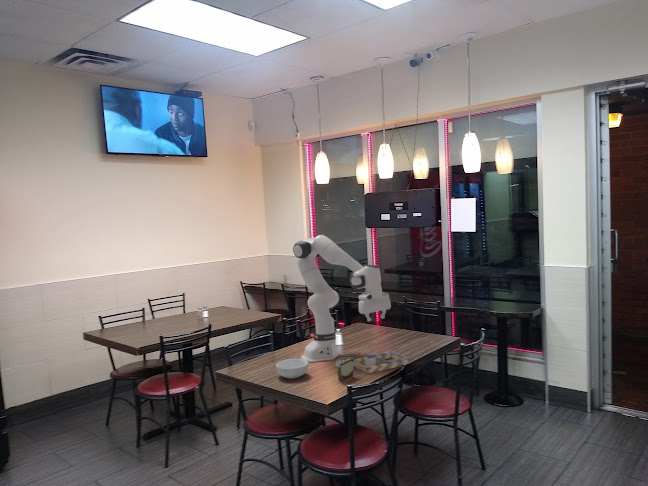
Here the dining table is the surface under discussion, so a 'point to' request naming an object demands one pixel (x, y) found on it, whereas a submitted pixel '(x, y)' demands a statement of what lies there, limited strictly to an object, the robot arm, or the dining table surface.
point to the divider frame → (382, 362)
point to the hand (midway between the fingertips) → (376, 319)
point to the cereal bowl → (292, 368)
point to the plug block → (370, 359)
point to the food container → (345, 368)
